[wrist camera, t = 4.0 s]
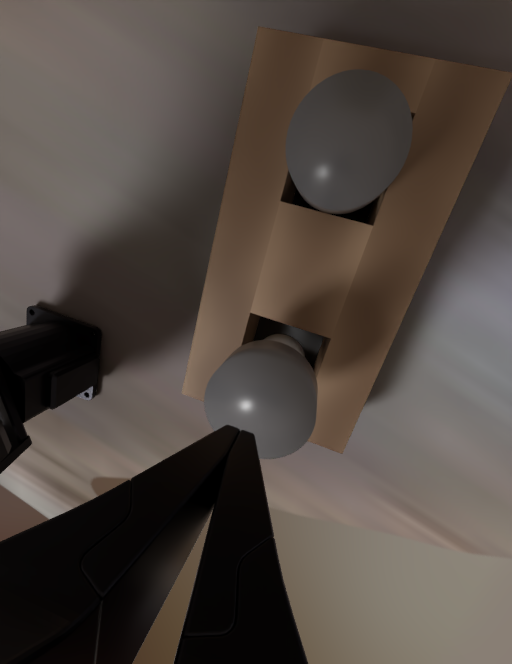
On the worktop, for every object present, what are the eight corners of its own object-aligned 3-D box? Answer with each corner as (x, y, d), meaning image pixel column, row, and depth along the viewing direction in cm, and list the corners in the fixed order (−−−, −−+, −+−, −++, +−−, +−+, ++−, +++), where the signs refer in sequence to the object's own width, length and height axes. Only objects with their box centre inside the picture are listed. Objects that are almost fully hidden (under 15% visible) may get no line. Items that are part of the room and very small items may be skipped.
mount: (206, 368, 22) (181, 393, 18) (274, 79, 16) (258, 26, 12) (339, 416, 20) (342, 453, 17) (465, 118, 15) (513, 73, 11)
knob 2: (289, 210, 17) (271, 192, 12) (313, 124, 16) (306, 58, 10) (363, 230, 16) (382, 221, 11) (396, 143, 15) (435, 83, 10)
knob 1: (234, 377, 18) (194, 435, 12) (253, 309, 16) (217, 340, 11) (305, 403, 17) (295, 474, 12) (330, 334, 16) (333, 379, 10)
